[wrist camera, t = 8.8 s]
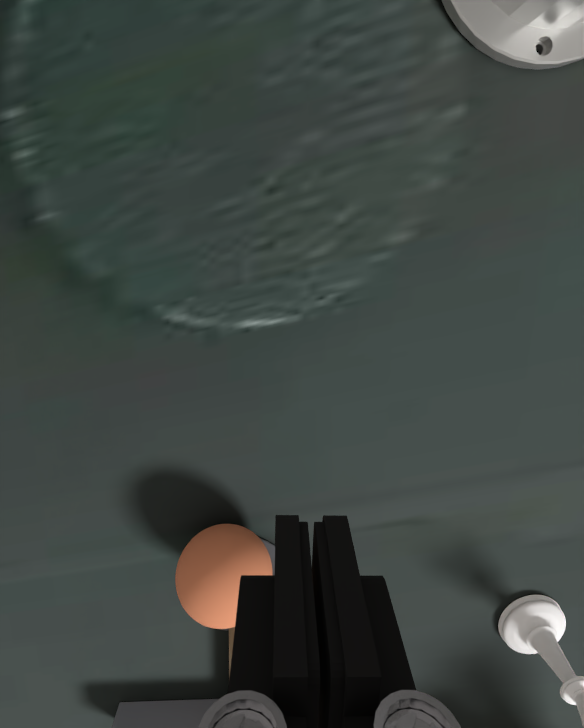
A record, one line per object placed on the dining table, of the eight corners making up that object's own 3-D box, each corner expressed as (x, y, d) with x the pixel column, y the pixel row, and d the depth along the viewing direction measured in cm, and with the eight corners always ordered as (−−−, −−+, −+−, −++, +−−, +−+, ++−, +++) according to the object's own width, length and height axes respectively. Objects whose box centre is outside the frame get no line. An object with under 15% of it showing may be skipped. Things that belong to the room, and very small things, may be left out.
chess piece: (487, 640, 36) (569, 789, 26) (513, 588, 35) (608, 724, 25) (545, 652, 36) (645, 802, 27) (572, 601, 35) (687, 738, 26)
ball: (170, 639, 29) (193, 548, 34) (266, 649, 29) (276, 556, 34) (156, 598, 25) (184, 501, 30) (266, 608, 25) (278, 509, 30)
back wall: (119, 702, 35) (106, 743, 33) (355, 693, 37) (362, 733, 34) (121, 722, 36) (109, 764, 33) (353, 713, 37) (361, 754, 34)
